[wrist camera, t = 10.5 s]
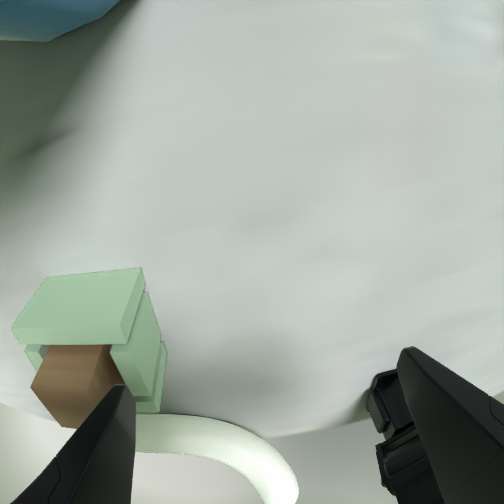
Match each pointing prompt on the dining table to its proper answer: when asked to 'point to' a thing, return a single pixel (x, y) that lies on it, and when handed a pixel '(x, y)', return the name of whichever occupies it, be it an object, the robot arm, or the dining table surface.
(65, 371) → the walnut peg
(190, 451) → the banana
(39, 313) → the green open frame
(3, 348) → the dining table surface
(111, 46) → the dining table surface
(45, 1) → the wine bottle
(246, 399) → the dining table surface
